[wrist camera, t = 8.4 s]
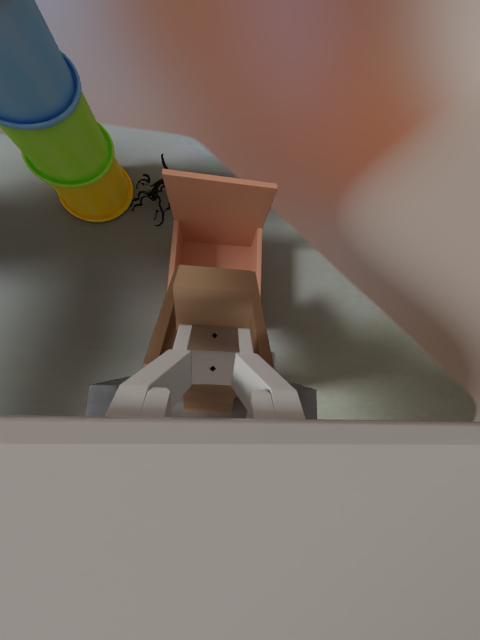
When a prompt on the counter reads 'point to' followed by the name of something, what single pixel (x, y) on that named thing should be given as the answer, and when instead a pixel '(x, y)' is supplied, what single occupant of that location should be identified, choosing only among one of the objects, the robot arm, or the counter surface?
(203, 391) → the lever
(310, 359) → the counter surface
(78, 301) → the counter surface
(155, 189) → the creature
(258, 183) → the cup
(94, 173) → the stacking cups
